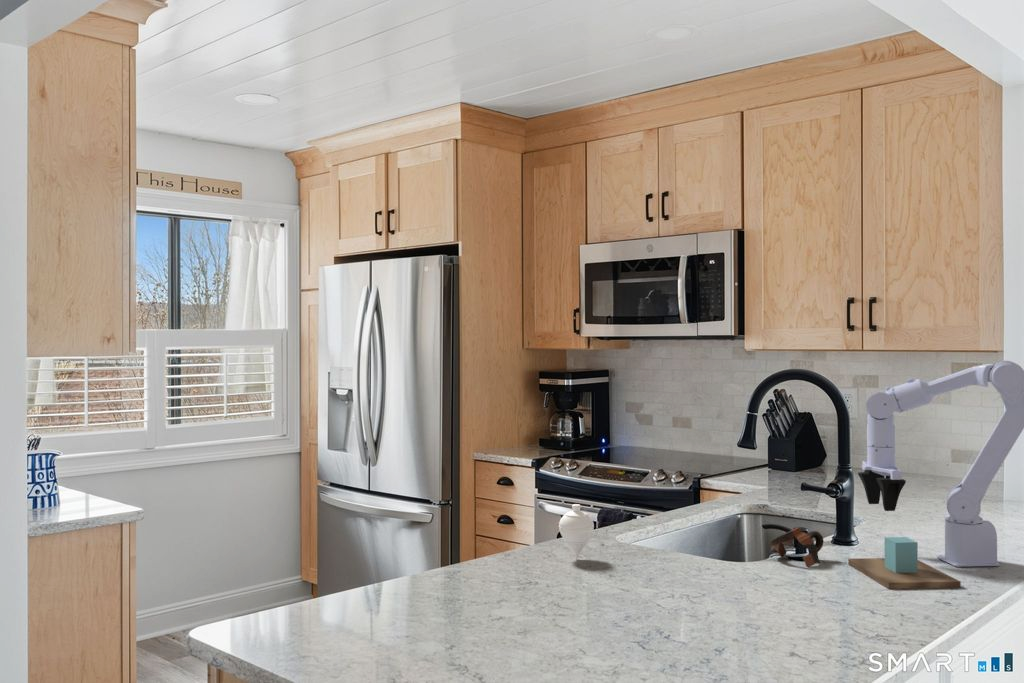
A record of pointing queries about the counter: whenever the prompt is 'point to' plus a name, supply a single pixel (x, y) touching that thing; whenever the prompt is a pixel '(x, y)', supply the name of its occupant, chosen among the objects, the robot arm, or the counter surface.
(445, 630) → the counter surface
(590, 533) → the spinning top
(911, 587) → the walnut board
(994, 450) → the robot arm
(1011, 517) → the counter surface
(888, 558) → the teal block
